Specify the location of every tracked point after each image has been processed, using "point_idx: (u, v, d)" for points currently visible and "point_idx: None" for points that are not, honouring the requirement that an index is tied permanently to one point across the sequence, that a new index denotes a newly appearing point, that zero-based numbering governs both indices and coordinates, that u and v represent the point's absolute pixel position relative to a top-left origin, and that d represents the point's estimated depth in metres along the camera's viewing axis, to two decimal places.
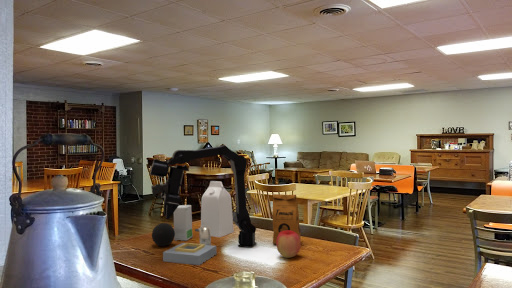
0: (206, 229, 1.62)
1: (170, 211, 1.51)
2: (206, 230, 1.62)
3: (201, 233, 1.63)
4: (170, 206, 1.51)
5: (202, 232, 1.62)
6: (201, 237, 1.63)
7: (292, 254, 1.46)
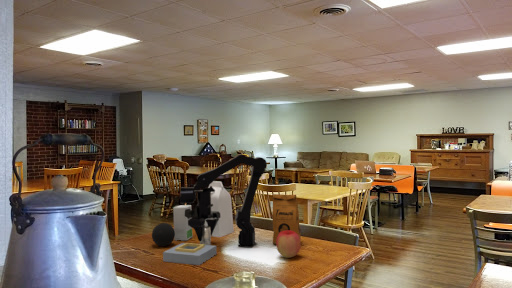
0: (206, 229, 1.62)
1: (199, 233, 1.59)
2: (206, 230, 1.62)
3: None
4: (198, 228, 1.59)
5: None
6: None
7: (292, 254, 1.46)
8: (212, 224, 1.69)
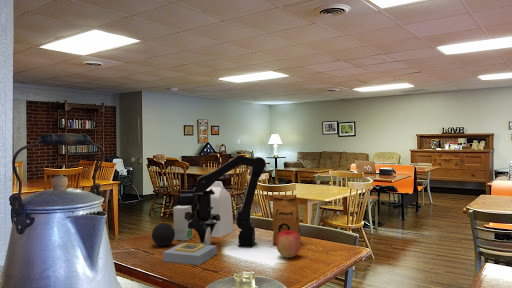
0: None
1: (201, 235, 1.61)
2: None
3: None
4: (200, 230, 1.61)
5: None
6: None
7: (292, 254, 1.46)
8: (210, 228, 1.67)
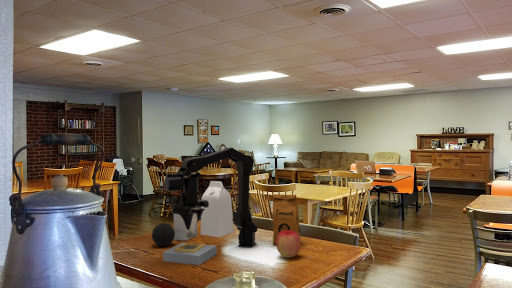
0: None
1: (187, 221, 1.50)
2: None
3: None
4: (186, 216, 1.50)
5: None
6: None
7: (292, 254, 1.46)
8: (197, 214, 1.55)
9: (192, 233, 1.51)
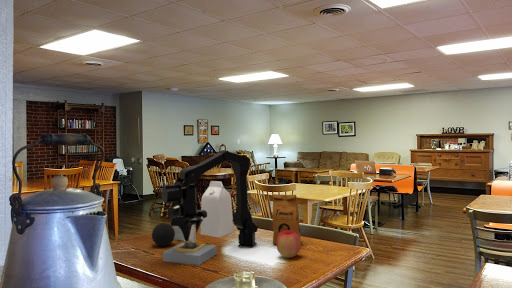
0: None
1: (185, 233, 1.48)
2: None
3: None
4: (184, 228, 1.48)
5: None
6: None
7: (292, 254, 1.46)
8: None
9: (190, 244, 1.49)
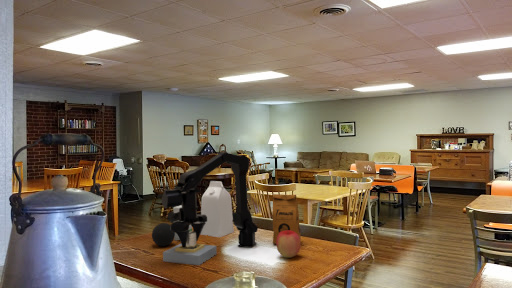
0: (191, 235, 1.49)
1: (183, 239, 1.46)
2: (191, 236, 1.49)
3: None
4: (181, 234, 1.46)
5: None
6: None
7: (292, 254, 1.46)
8: (198, 228, 1.55)
9: None
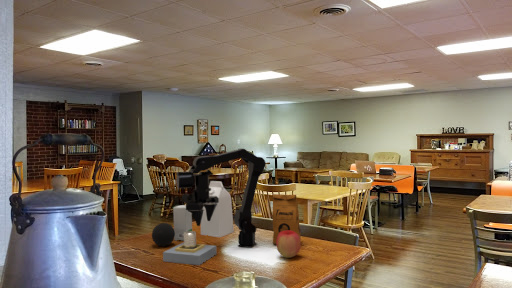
0: (191, 235, 1.49)
1: (197, 218, 1.54)
2: (190, 236, 1.49)
3: (185, 239, 1.49)
4: (196, 213, 1.55)
5: (186, 238, 1.49)
6: (185, 243, 1.49)
7: (292, 254, 1.46)
8: (210, 209, 1.64)
9: None
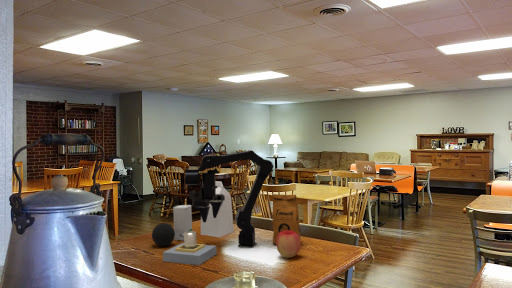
0: (191, 235, 1.49)
1: (203, 214, 1.59)
2: (191, 236, 1.49)
3: (186, 239, 1.49)
4: (202, 210, 1.59)
5: (187, 238, 1.49)
6: (186, 243, 1.49)
7: (292, 254, 1.46)
8: (216, 206, 1.69)
9: None
